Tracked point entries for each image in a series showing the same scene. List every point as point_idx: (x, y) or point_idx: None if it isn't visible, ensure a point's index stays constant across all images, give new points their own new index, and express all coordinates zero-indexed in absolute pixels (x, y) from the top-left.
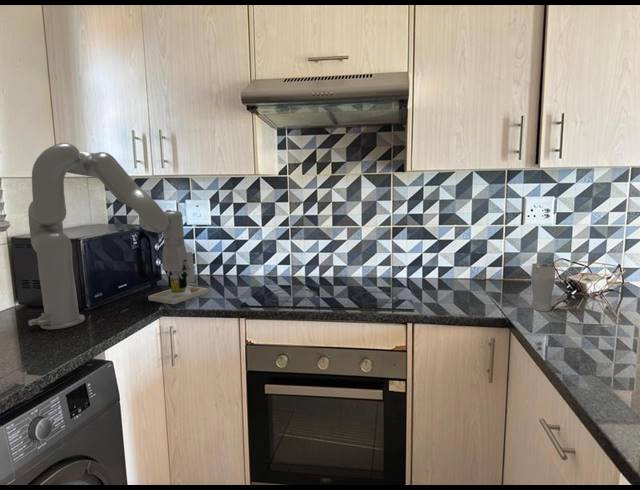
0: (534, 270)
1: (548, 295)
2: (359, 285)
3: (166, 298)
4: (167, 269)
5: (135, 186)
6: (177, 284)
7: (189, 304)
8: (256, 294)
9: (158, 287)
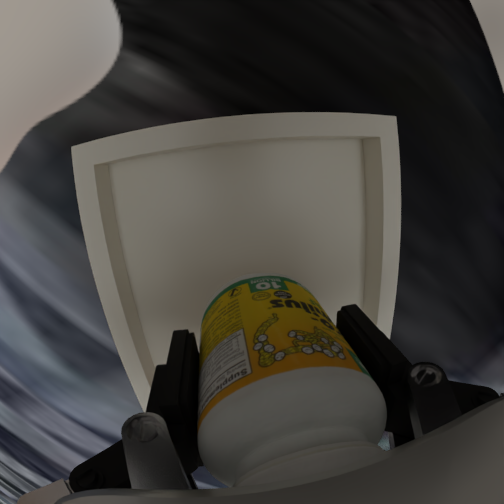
0: None
1: None
2: (4, 497)
3: (163, 134)
4: (449, 449)
5: None
6: (211, 344)
7: (50, 243)
8: (30, 452)
9: (494, 334)
